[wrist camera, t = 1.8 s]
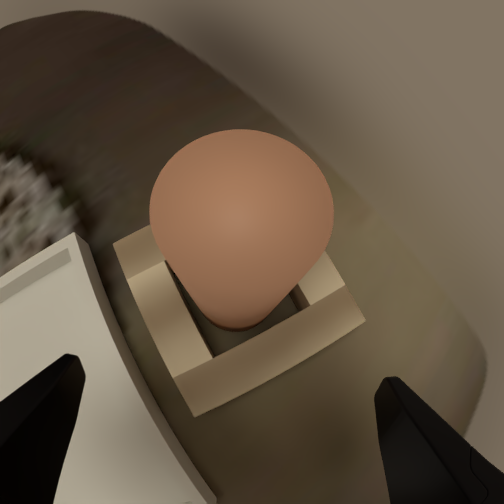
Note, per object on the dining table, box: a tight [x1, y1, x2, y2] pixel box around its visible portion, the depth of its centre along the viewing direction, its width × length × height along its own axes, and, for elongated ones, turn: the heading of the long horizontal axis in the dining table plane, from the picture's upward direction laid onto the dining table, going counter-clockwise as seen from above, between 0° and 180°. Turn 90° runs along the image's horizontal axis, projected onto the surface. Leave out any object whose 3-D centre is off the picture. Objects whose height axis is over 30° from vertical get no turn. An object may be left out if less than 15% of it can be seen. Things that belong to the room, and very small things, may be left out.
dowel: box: [149, 130, 334, 332], centre depth 15 cm, size 5×5×13 cm
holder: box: [113, 224, 366, 417], centre depth 19 cm, size 11×11×3 cm
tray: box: [0, 232, 217, 504], centre depth 16 cm, size 20×14×2 cm
